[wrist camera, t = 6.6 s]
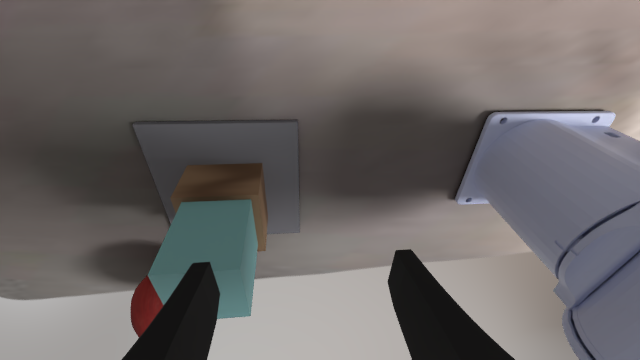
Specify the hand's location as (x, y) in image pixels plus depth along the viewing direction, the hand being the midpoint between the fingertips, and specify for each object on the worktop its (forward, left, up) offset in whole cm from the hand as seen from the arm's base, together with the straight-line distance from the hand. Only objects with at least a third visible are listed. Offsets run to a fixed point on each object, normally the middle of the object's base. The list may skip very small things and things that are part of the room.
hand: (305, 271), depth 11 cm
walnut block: (+5, +3, -10) cm, 12 cm away
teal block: (+5, +3, -6) cm, 9 cm away
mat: (+5, +3, -10) cm, 12 cm away
